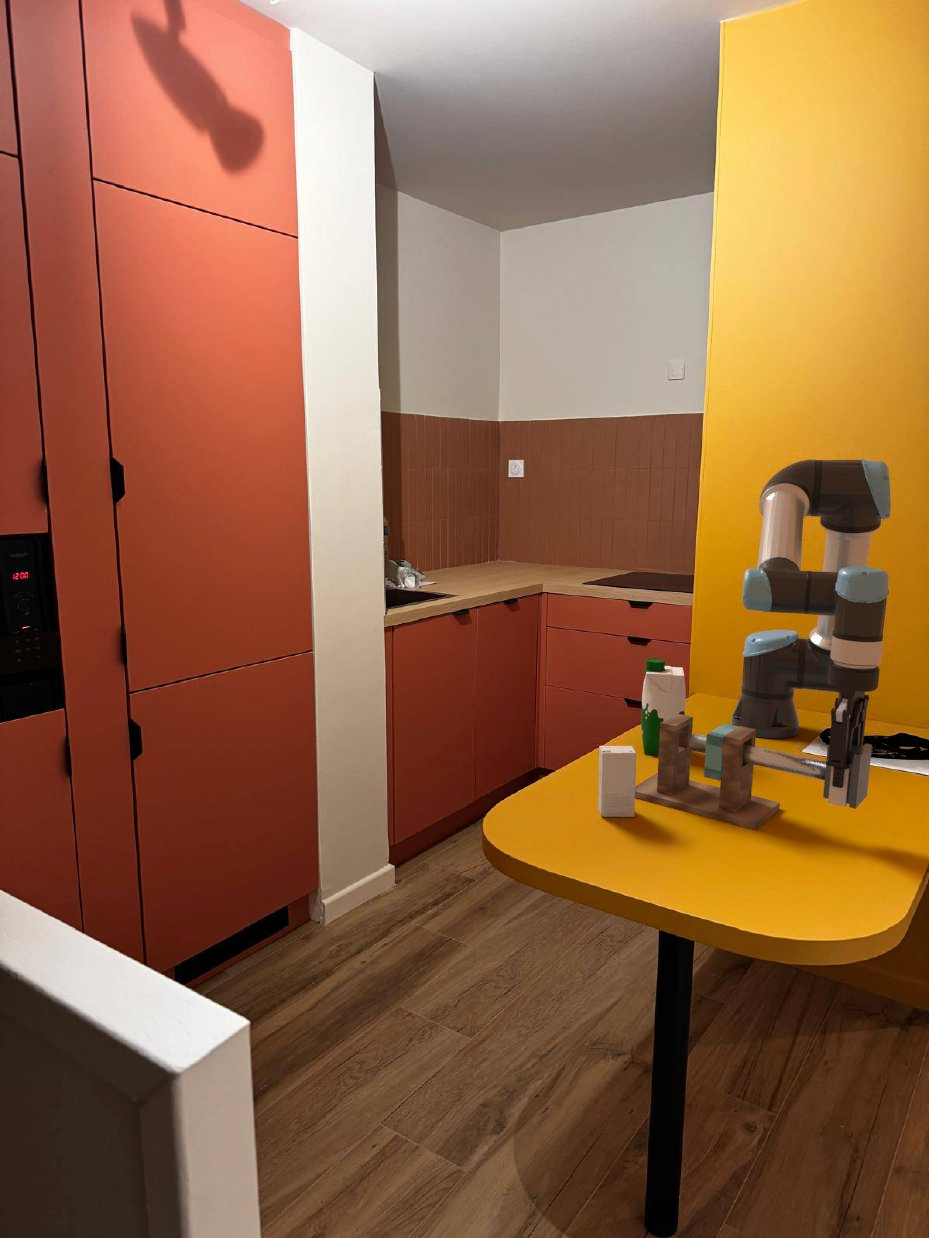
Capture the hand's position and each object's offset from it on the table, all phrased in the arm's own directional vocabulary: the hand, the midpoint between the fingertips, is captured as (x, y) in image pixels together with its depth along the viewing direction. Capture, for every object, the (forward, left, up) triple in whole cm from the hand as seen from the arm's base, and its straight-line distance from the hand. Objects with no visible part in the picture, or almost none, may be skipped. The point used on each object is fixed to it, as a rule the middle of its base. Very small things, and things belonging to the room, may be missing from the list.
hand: (841, 799), depth 145 cm
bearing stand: (0, -24, -7) cm, 25 cm away
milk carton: (-22, -43, -7) cm, 49 cm away
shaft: (0, -12, 0) cm, 12 cm away
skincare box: (+15, -34, -7) cm, 38 cm away
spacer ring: (0, -21, 0) cm, 21 cm away
